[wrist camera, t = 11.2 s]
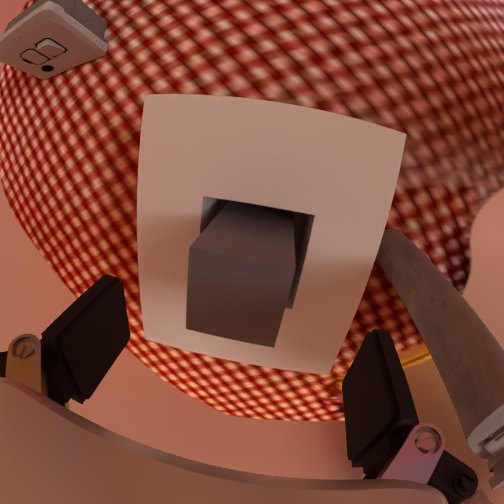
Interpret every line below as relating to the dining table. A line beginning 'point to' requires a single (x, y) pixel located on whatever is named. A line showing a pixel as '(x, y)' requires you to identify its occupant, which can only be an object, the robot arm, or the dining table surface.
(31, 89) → the dining table surface
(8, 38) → the electrical switch
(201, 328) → the plug
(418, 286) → the hip flask
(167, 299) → the socket
